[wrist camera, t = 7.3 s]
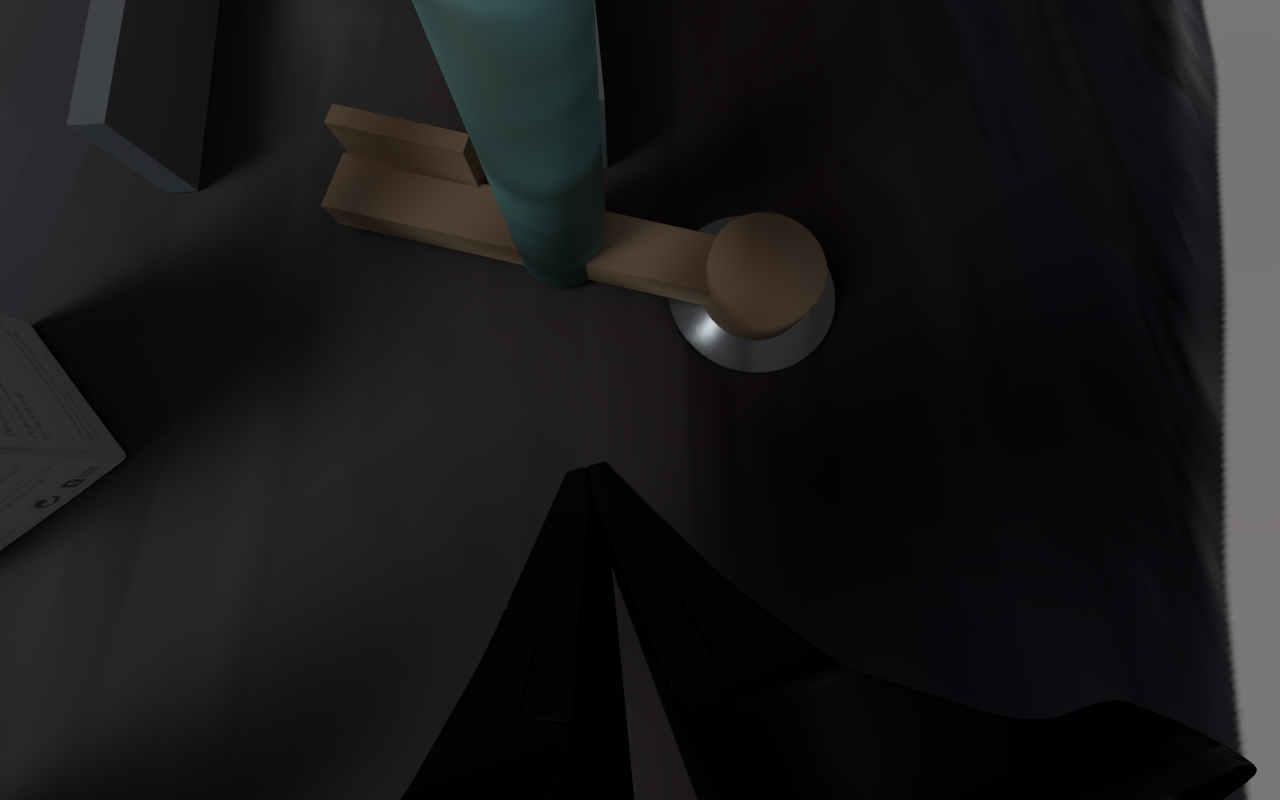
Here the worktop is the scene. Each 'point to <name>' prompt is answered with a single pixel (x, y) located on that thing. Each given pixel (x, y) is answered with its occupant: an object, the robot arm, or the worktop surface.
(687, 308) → the pivot base
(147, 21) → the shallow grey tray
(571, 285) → the lever
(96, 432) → the supplement box
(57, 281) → the worktop surface
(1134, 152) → the worktop surface
